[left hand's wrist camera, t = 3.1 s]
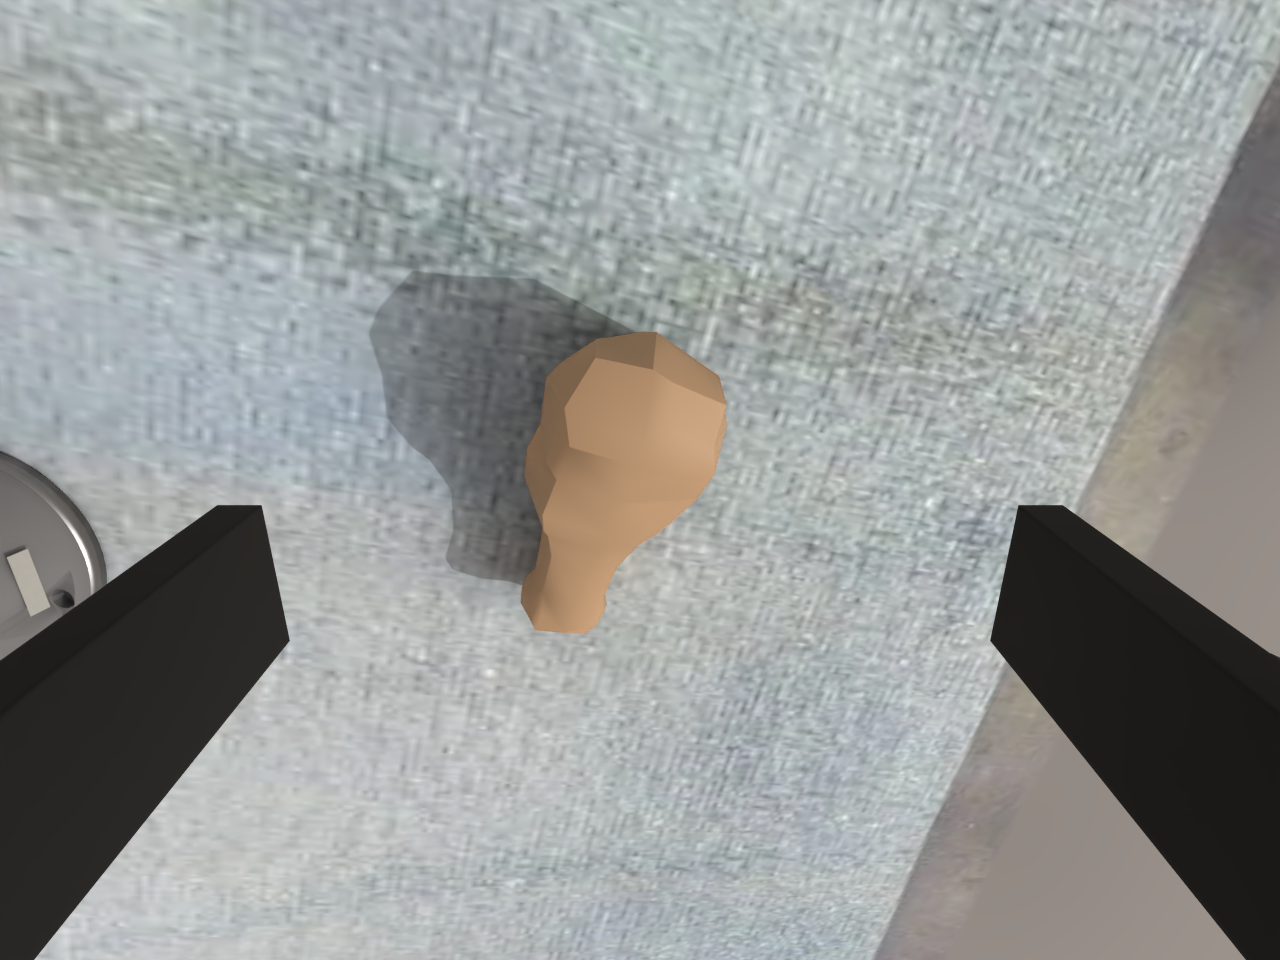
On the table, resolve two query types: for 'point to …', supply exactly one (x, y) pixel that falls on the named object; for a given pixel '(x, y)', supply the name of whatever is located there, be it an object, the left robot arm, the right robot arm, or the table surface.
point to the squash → (614, 466)
